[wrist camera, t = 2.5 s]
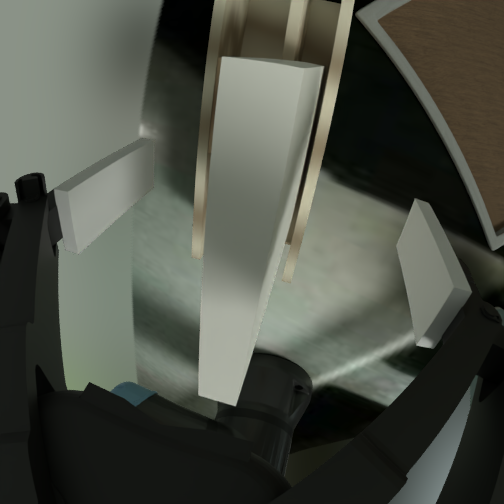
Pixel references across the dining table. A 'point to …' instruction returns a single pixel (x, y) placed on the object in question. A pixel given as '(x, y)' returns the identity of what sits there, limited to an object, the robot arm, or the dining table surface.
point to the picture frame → (454, 85)
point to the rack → (284, 48)
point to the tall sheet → (250, 206)
